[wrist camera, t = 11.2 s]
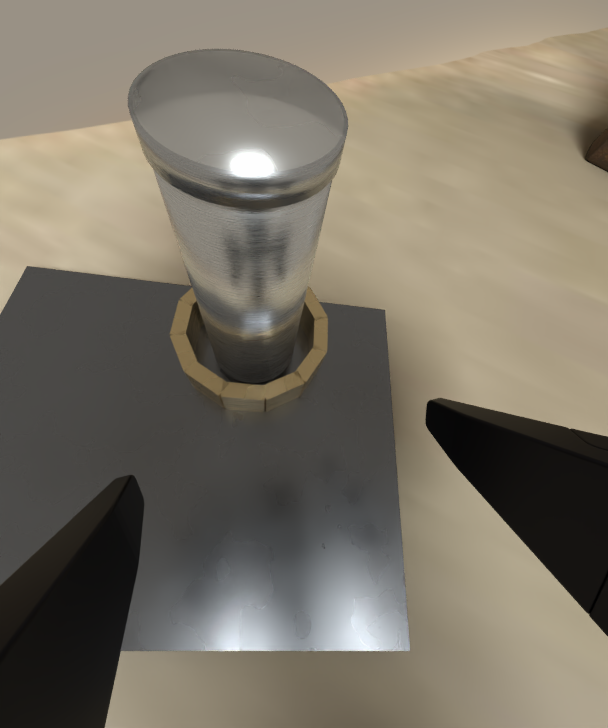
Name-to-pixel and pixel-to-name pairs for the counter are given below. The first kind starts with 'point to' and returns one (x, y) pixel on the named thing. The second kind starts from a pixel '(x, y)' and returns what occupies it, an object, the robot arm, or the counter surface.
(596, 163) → the clothes iron
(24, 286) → the base
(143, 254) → the counter surface
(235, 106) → the grey cylindrical piece
